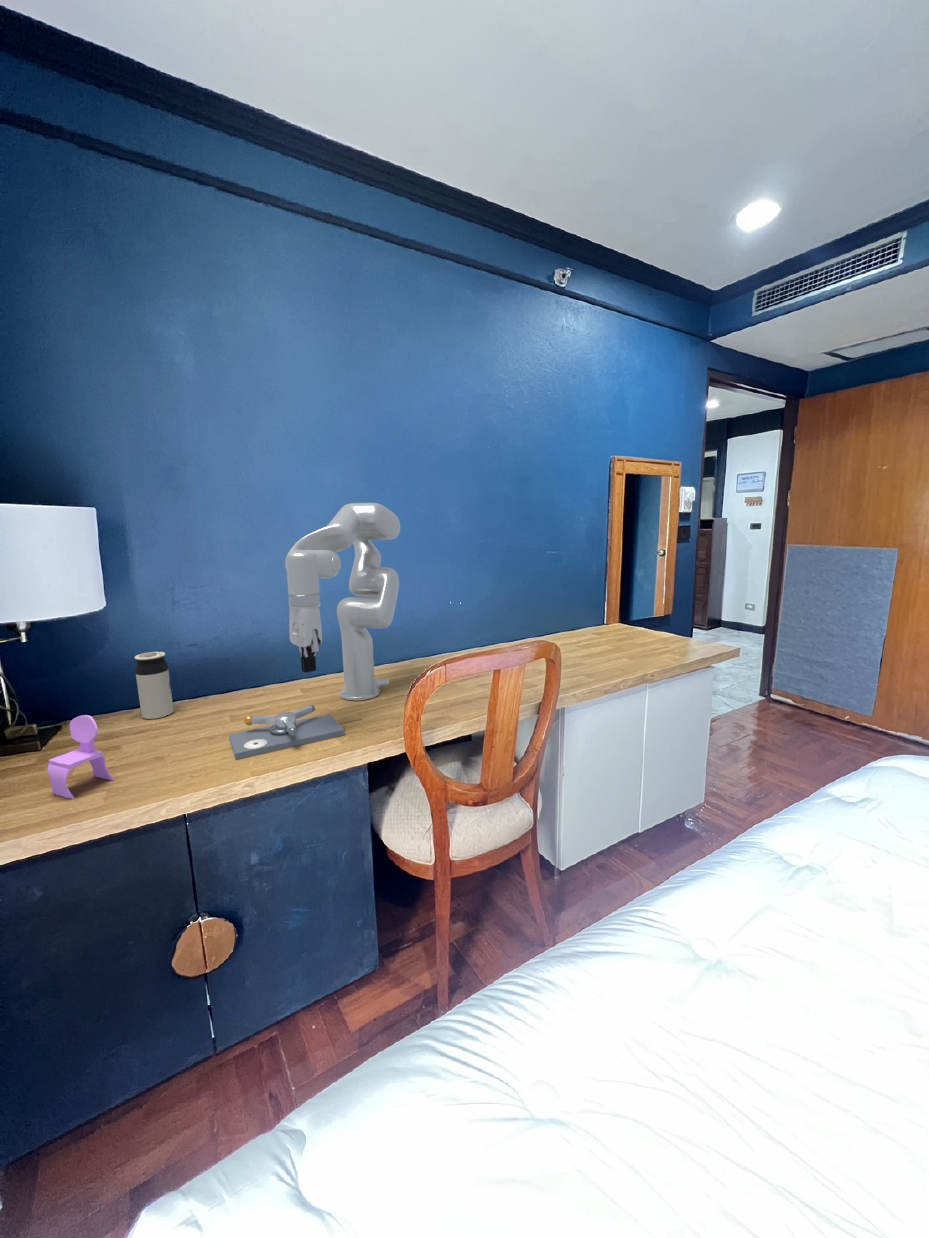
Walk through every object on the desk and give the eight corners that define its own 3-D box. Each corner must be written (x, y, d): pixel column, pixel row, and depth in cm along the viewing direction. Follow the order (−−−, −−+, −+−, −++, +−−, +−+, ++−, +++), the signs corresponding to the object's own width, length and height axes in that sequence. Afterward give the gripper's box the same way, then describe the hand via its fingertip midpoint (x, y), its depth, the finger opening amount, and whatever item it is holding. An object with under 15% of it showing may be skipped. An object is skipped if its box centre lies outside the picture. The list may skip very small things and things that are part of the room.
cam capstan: (316, 716, 137) (315, 702, 136) (296, 743, 120) (295, 728, 119) (258, 717, 137) (257, 703, 136) (229, 744, 120) (228, 729, 119)
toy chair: (47, 794, 102) (34, 725, 99) (92, 774, 110) (81, 710, 107) (73, 801, 99) (61, 731, 96) (117, 780, 107) (107, 715, 104)
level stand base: (330, 718, 140) (330, 713, 140) (344, 735, 129) (344, 728, 129) (229, 739, 127) (228, 733, 127) (235, 759, 116) (234, 752, 116)
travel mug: (139, 721, 140) (130, 659, 136) (144, 712, 147) (136, 653, 143) (172, 717, 143) (164, 656, 139) (175, 708, 150) (167, 650, 147)
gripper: (278, 599, 128) (283, 668, 132) (302, 605, 117) (307, 680, 121) (306, 597, 133) (310, 663, 136) (332, 602, 122) (335, 674, 125)
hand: (308, 670), depth 128 cm, fingers closed
